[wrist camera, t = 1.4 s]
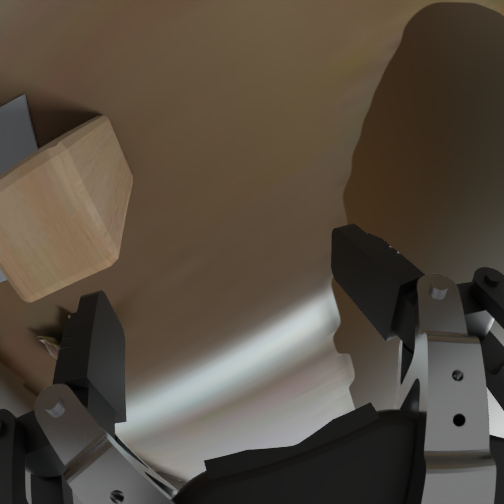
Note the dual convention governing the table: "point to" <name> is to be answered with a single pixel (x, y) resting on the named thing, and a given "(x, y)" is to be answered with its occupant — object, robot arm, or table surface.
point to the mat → (15, 137)
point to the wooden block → (64, 210)
